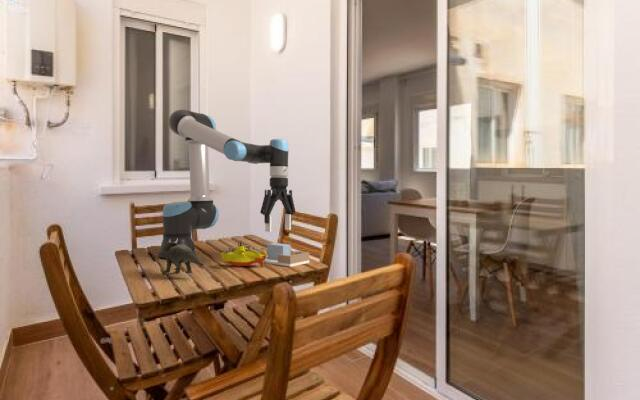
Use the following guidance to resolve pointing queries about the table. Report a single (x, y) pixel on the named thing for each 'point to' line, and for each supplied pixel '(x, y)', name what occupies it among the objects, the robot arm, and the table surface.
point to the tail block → (277, 250)
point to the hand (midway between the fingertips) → (278, 230)
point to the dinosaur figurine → (179, 256)
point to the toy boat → (244, 256)
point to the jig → (282, 257)
